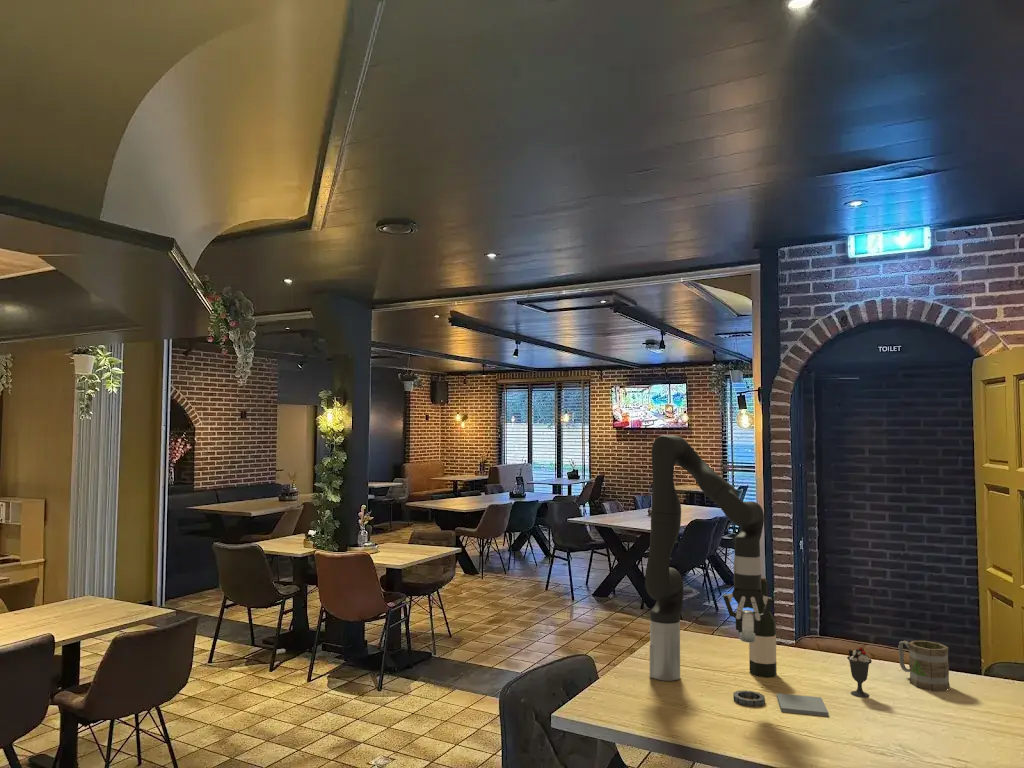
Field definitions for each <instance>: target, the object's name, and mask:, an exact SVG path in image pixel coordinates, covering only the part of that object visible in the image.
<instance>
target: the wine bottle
mask: <svg viewBox="0 0 1024 768" xmlns="http://www.w3.org/2000/svg"><path fill="white" fill-rule="evenodd" d="M761 591H762V594H763V596H766V597H768V580H766V577H764V576H763V577H762V576H761ZM764 607H765V604H764V600H763V599H762V600H761V601H760V603H759V604H758V605H757V608H758V611H759V614H762V613H763V610H764ZM776 621H777V620H776V619H775V617H774V615H773V613H772V612H771V609H770V610H769V613H768V616H767V618H766V619H762V620H761V621H760V632H758V634H755V642H748V645H749V646H748V649H749V651H748V652H749V654H748V655H749V656H748V657H749V659H748V660H749V674H750V673H751V675H752V674H753V676H754V675H755V676H754V677H757V676H758V677H759V678H766V679H769V678H776V676H777V670H778V669H777V633H776V631H777V627H776V626H777V625H776V624H777V622H776Z"/></svg>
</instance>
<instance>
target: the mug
mask: <svg viewBox="0 0 1024 768" xmlns="http://www.w3.org/2000/svg"><path fill="white" fill-rule="evenodd" d="M904 645H905V647H907V648H908V649H907V650H908V651H909V654H908V655H909V658H908V668H907V667H906V664H905V655H904V654H905V653H904V647H903V646H904ZM897 647H898V656H899V657H898V659H899V666H900V668H901V670H903V672H904V673H909V682H908V683H909V684H910V685H912V686H914V687H916V688H917V689H922V690H925V689H926V690H927V691H930V690H931V691H930V692H947V691H948V690H949V688H950V689H951V685H950V680H949V679H950V676H949V675H950V663H949V647H948V646H946V645H944V644H942V643H940V642H934V641H930V640H929V641H928V640H911V641H910V642H909V641H907V640H902V641H899V642H898V646H897ZM947 689H948V690H947ZM946 690H947V691H946Z"/></svg>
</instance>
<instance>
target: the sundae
mask: <svg viewBox="0 0 1024 768" xmlns="http://www.w3.org/2000/svg"><path fill="white" fill-rule="evenodd" d="M865 646H868V644H867V643H864V644H863V645H861V647H858V648H856V649H854V650H851V649H848V653H849V655H848V656H846V659H847V660H848V662H849V666H850V667H849V668H850V672H851V673H850V674H851V678H852V679H853V680H855V681H856V682H857V689H856V690H852V691H850V694H851V695H852V696H854V697H858V698H869V697H870V694H869V693H868V692H865V691H864V690H863V683H864V682H866V681H867V679H868V675H869V669H870V668H869V666H870V664H872V658H869V656H868V655H867V651H866V650H864V648H865Z"/></svg>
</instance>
